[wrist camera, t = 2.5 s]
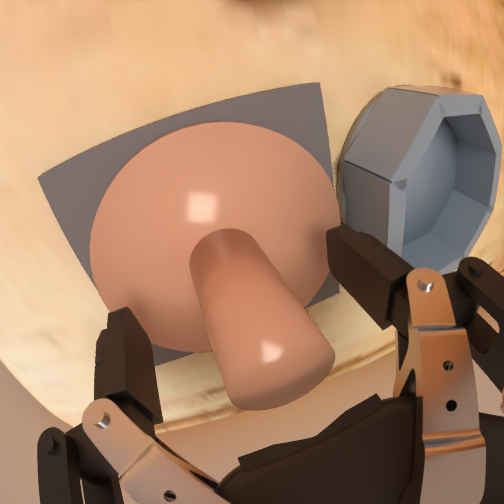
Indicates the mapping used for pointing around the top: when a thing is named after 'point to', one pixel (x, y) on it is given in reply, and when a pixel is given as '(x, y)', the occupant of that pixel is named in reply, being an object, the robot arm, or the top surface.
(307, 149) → the mat
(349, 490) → the robot arm
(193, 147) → the lid
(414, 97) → the bowl
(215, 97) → the top surface
